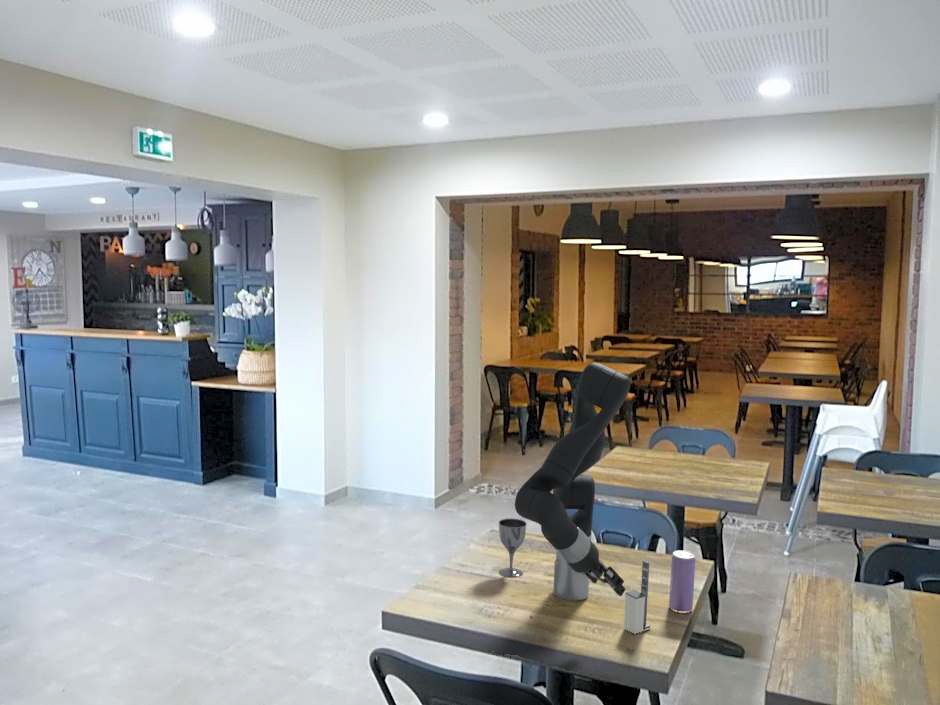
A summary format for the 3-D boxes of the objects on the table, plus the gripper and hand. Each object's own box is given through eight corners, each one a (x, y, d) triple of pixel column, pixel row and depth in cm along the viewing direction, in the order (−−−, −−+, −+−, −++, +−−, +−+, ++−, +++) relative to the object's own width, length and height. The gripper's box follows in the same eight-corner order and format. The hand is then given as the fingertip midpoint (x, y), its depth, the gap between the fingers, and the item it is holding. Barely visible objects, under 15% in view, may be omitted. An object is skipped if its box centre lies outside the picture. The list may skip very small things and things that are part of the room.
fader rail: (644, 631, 185) (647, 564, 184) (635, 626, 188) (638, 560, 186) (649, 629, 186) (653, 562, 185) (640, 624, 189) (644, 559, 187)
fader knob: (634, 634, 183) (636, 597, 182) (623, 628, 186) (625, 592, 185) (643, 631, 185) (645, 595, 184) (632, 625, 188) (634, 589, 187)
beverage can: (693, 615, 195) (696, 559, 194) (669, 612, 196) (672, 557, 195) (691, 605, 201) (694, 551, 199) (668, 603, 202) (671, 549, 201)
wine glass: (529, 571, 221) (531, 522, 220) (516, 580, 214) (518, 529, 213) (505, 565, 225) (507, 516, 224) (492, 573, 219) (493, 523, 217)
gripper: (606, 544, 167) (640, 583, 174) (563, 525, 178) (597, 563, 186) (587, 571, 164) (622, 610, 172) (545, 551, 176) (580, 588, 184)
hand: (609, 586), depth 179 cm, fingers open, 8 cm apart
